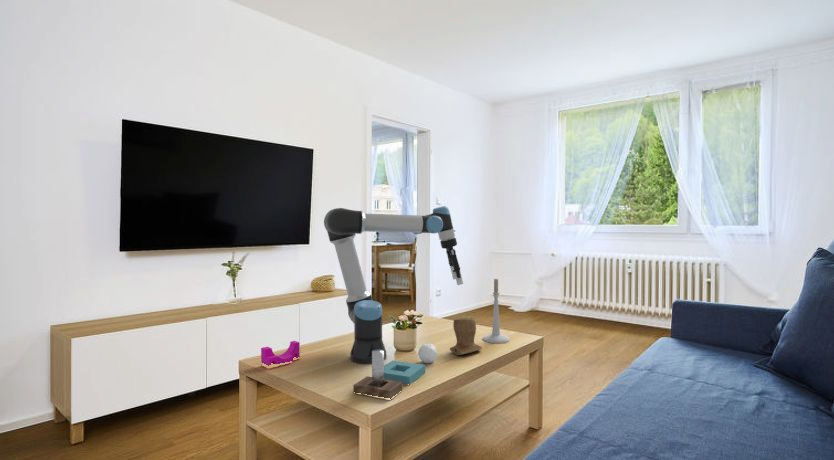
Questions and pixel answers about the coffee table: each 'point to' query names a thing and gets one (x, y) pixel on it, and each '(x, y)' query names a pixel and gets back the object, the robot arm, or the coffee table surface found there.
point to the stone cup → (464, 336)
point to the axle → (378, 368)
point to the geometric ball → (427, 353)
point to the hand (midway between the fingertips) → (458, 281)
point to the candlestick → (496, 321)
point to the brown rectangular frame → (378, 388)
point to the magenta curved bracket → (287, 356)
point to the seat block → (403, 371)
